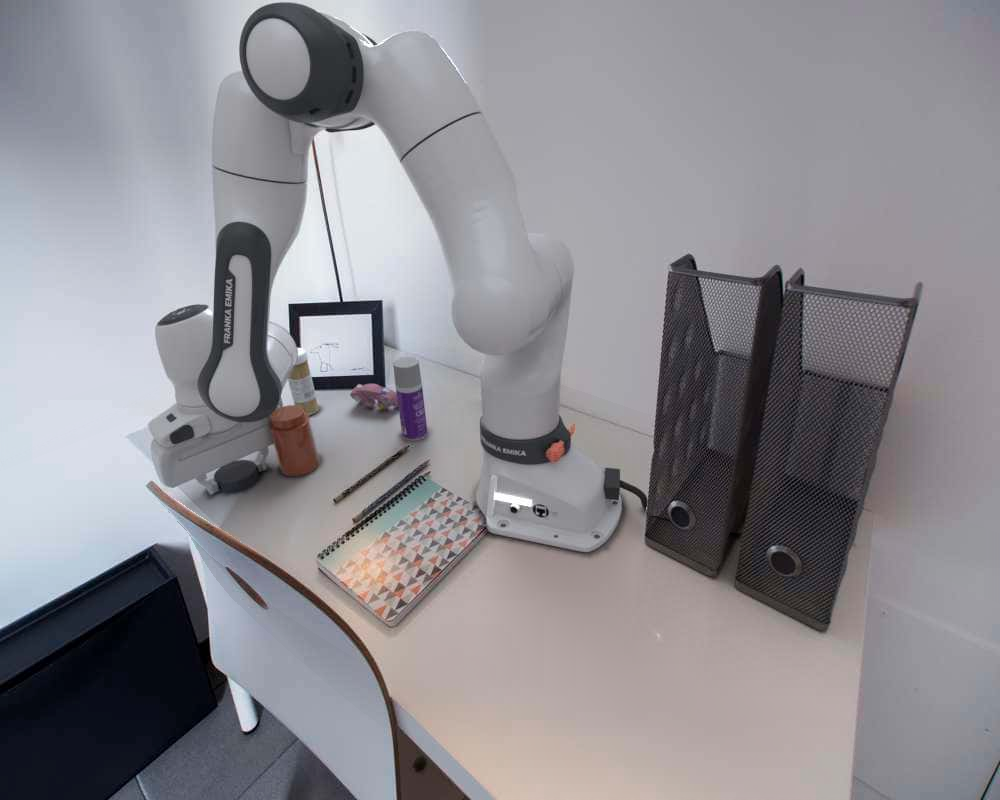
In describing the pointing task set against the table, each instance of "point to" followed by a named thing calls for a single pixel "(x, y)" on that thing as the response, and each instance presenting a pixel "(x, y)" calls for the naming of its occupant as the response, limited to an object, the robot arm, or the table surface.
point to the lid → (236, 476)
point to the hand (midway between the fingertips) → (238, 480)
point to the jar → (293, 441)
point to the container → (410, 398)
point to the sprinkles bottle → (303, 384)
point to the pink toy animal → (374, 396)
